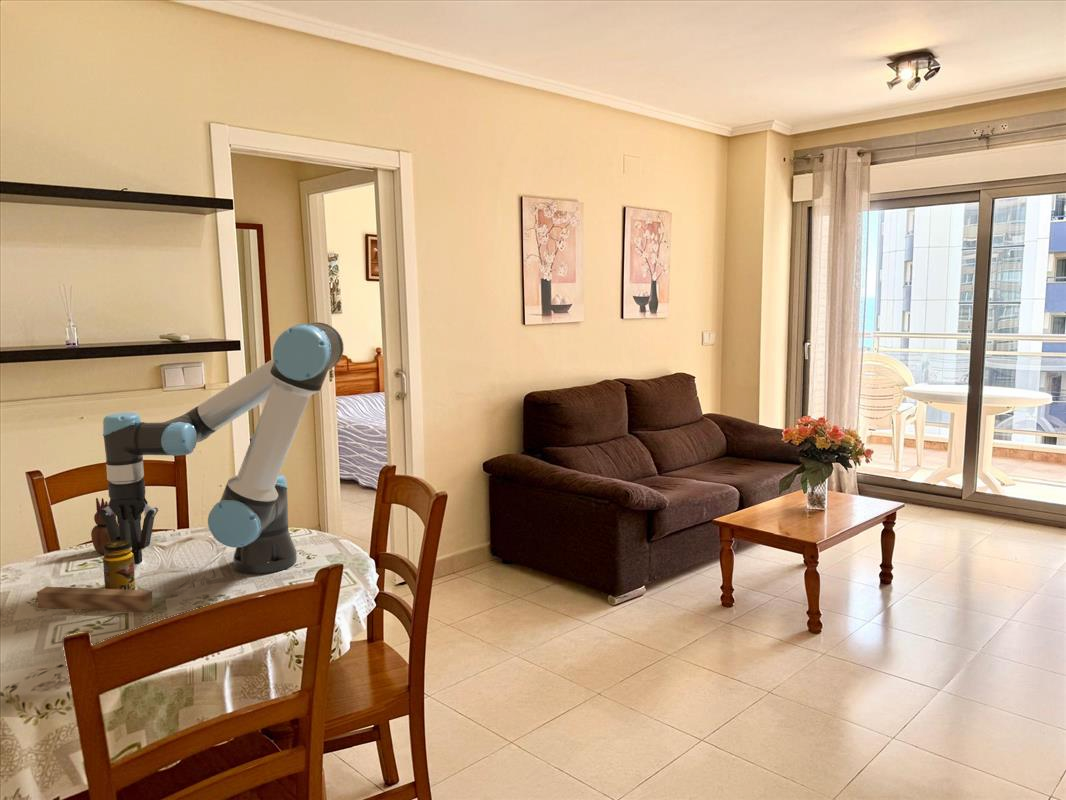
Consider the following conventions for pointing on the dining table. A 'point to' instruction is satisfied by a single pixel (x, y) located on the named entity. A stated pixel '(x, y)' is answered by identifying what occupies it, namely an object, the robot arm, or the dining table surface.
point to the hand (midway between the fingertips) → (134, 576)
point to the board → (95, 599)
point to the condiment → (119, 566)
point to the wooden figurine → (100, 529)
